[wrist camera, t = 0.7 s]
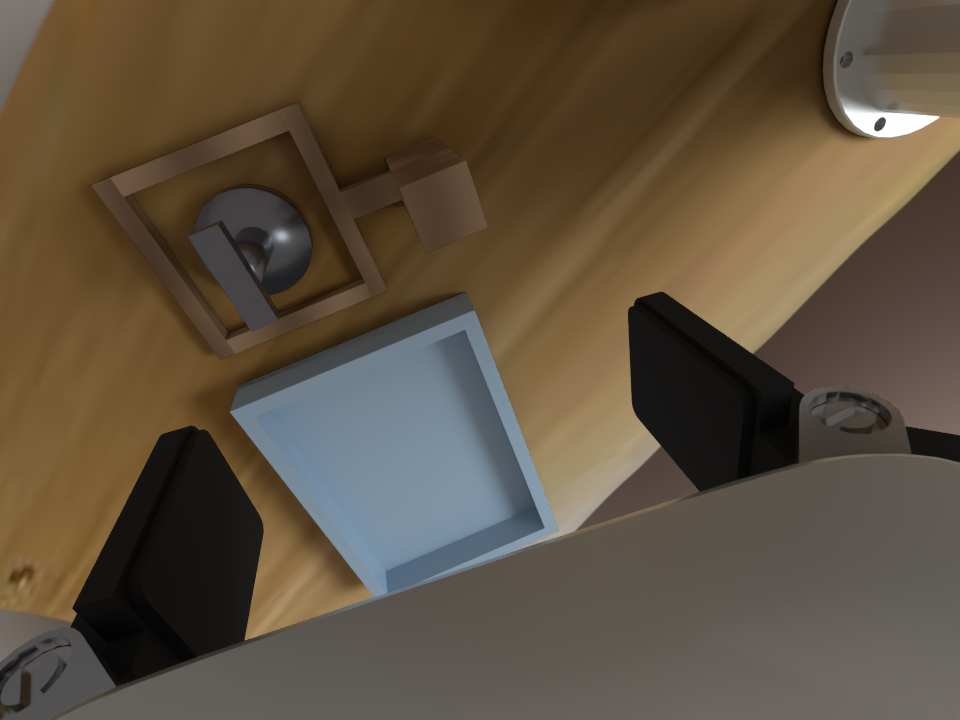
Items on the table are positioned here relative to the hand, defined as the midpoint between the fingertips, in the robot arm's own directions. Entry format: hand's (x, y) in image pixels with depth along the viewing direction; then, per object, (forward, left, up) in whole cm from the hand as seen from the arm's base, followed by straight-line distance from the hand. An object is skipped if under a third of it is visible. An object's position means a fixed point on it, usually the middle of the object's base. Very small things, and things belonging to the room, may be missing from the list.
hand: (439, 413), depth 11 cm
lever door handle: (+7, -1, -22) cm, 23 cm away
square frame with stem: (+4, -1, -22) cm, 22 cm away
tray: (+5, +18, -22) cm, 29 cm away
